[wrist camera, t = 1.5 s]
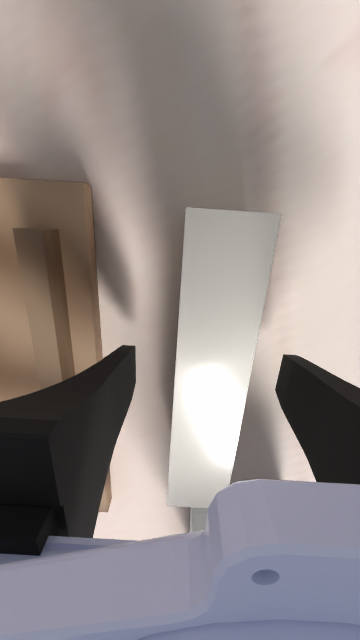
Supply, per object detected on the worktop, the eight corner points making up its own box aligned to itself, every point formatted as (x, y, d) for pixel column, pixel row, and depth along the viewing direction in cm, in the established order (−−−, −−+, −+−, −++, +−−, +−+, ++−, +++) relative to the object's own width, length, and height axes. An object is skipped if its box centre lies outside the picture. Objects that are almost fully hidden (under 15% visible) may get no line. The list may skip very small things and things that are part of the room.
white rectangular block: (213, 433, 17) (224, 509, 13) (171, 430, 17) (166, 506, 13) (245, 218, 12) (281, 213, 8) (185, 214, 12) (186, 207, 8)
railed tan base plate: (111, 498, 20) (101, 535, 17) (-15, 491, 20) (-42, 527, 17) (91, 186, 12) (68, 176, 9) (-120, 173, 12) (-196, 160, 9)
